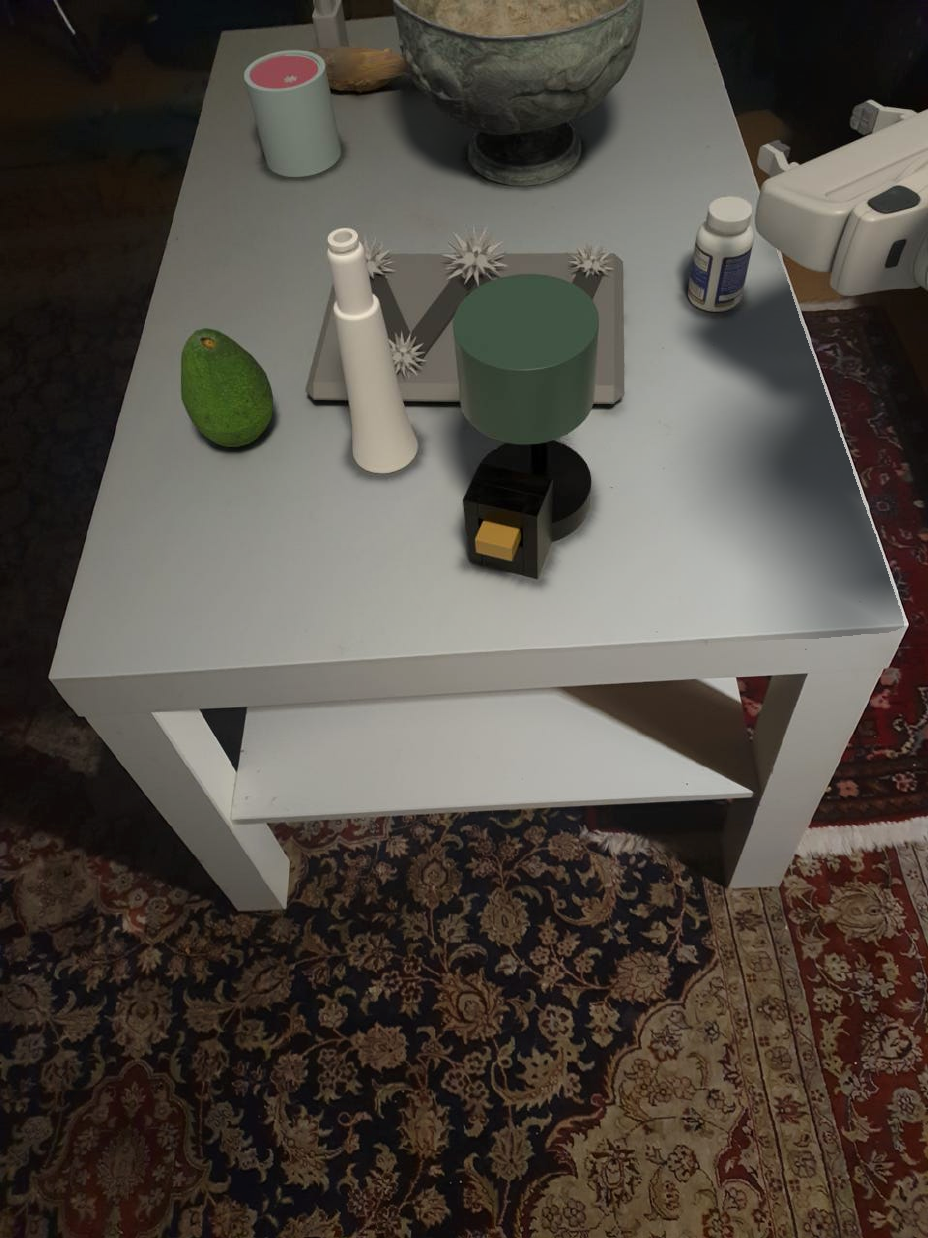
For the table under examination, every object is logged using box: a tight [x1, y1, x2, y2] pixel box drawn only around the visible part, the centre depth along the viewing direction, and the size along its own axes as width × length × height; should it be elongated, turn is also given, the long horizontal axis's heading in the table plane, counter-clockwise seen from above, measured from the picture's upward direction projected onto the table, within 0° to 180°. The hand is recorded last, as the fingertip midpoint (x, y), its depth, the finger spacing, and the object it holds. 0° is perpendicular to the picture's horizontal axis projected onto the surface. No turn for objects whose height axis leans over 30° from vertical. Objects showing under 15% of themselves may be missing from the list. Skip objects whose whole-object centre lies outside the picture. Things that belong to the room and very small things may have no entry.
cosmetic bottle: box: [326, 227, 419, 474], centre depth 75 cm, size 6×6×22 cm
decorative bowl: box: [392, 0, 645, 187], centre depth 101 cm, size 26×26×20 cm
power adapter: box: [311, 0, 350, 48], centre depth 119 cm, size 3×5×12 cm, turn 174°
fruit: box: [180, 327, 274, 448], centre depth 82 cm, size 8×8×12 cm
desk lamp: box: [453, 274, 599, 580], centre depth 71 cm, size 13×10×20 cm
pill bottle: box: [687, 195, 755, 313], centre depth 89 cm, size 5×5×10 cm
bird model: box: [308, 45, 410, 94], centre depth 118 cm, size 6×21×5 cm, turn 88°
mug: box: [243, 49, 342, 178], centre depth 110 cm, size 14×9×10 cm
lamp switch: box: [475, 519, 521, 561], centre depth 72 cm, size 2×3×2 cm
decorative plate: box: [305, 223, 625, 405], centre depth 89 cm, size 30×22×7 cm
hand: (812, 131), depth 73 cm, fingers open, 8 cm apart
